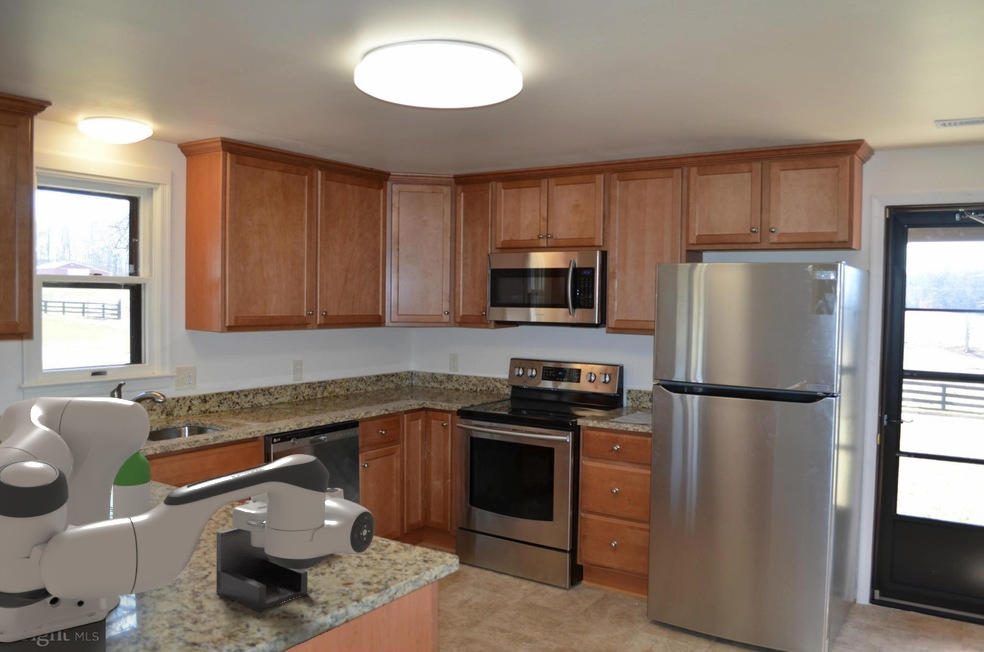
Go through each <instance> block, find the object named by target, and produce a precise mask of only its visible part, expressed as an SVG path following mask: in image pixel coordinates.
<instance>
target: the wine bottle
mask: <svg viewBox="0 0 984 652" xmlns="http://www.w3.org/2000/svg"><path fill="white" fill-rule="evenodd" d="M112 507H113V508H112V509H113V510H112V511H113V512H112V518H113V519H117V518H124V517H132V516H137V515H140V514H143V513H146V512H148V511H150V510H151V465H150V462H149V460H148V459H147V458H146V457H145V455H143V454H142V453H140V450H139V451H137V452H136V453H135V454H133V455H132V456H131V457H130V458H128V459H127V460H126V461H125V462H124V464H123V465H122V466H121V468H120V469H119V471H118V473H117V475H116V477H115V479H114V482H113V486H112Z"/></svg>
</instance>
